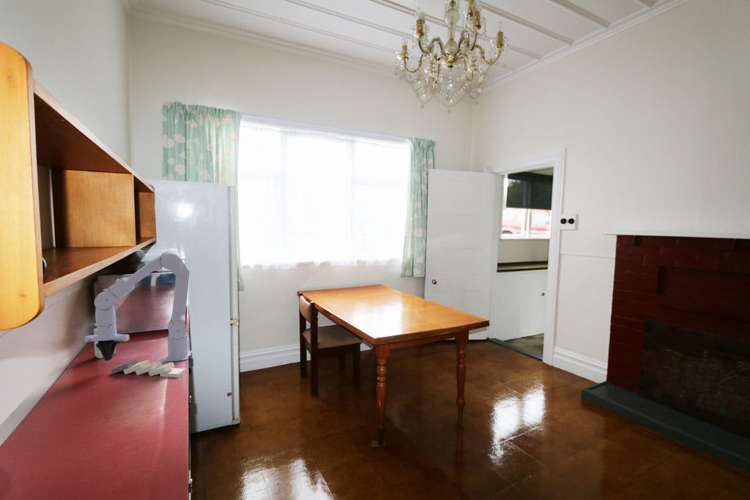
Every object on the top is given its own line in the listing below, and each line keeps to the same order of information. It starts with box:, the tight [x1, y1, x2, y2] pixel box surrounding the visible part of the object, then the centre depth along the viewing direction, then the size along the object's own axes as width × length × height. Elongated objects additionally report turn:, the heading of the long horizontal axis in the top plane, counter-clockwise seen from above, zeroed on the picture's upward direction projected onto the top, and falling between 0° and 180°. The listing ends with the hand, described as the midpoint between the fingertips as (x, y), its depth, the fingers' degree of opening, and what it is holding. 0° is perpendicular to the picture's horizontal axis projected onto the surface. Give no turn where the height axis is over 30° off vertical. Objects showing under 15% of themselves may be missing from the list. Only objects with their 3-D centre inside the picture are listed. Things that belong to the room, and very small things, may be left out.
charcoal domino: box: [110, 358, 139, 375], centre depth 127 cm, size 2×4×7 cm
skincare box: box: [93, 328, 117, 359], centre depth 142 cm, size 6×4×12 cm
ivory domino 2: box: [135, 360, 163, 376], centre depth 126 cm, size 2×4×7 cm
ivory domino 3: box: [148, 361, 176, 377], centre depth 125 cm, size 2×4×7 cm
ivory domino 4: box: [159, 367, 187, 378], centre depth 125 cm, size 2×4×7 cm
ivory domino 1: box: [123, 359, 151, 375], centre depth 127 cm, size 2×4×7 cm
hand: (108, 359), depth 127 cm, fingers closed
